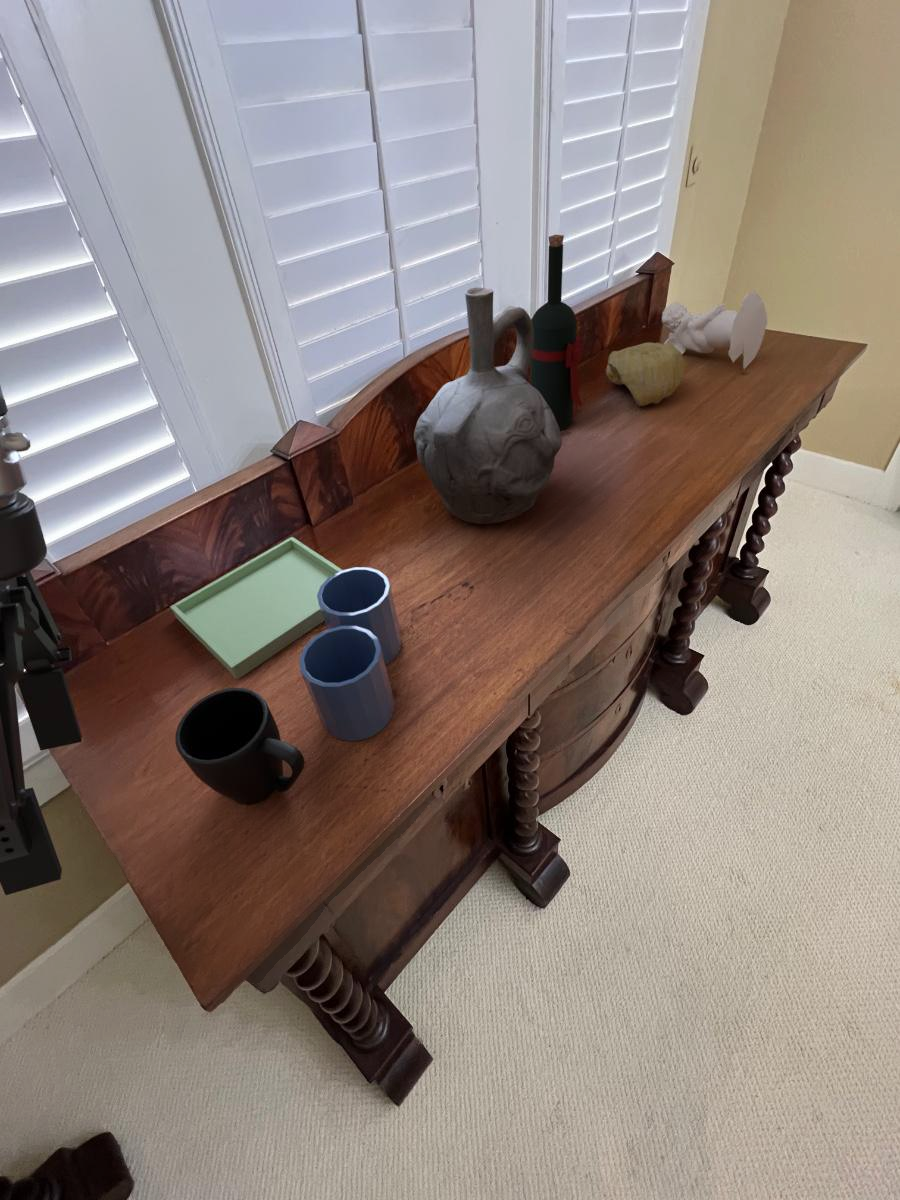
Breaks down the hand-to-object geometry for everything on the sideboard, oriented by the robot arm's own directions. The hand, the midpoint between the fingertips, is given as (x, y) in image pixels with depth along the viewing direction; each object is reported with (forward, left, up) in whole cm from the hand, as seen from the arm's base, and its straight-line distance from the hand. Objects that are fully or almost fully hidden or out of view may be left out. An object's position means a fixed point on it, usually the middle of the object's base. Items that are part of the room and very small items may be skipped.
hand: (50, 803), depth 40 cm
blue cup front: (+21, +13, -16) cm, 29 cm away
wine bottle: (+68, +64, -16) cm, 95 cm away
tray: (+13, +34, -16) cm, 40 cm away
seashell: (+87, +68, -16) cm, 112 cm away
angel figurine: (+107, +77, -16) cm, 133 cm away
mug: (+11, +7, -16) cm, 21 cm away
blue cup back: (+24, +22, -16) cm, 36 cm away
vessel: (+49, +45, -16) cm, 68 cm away
